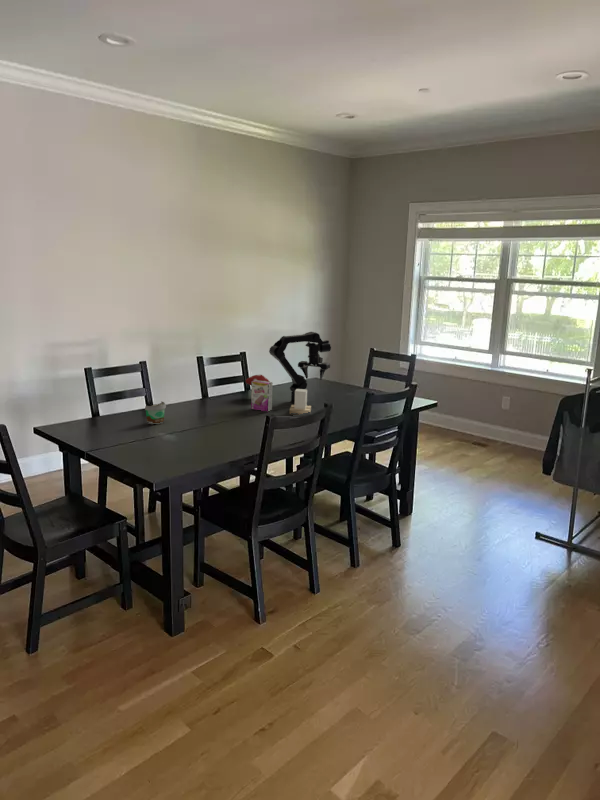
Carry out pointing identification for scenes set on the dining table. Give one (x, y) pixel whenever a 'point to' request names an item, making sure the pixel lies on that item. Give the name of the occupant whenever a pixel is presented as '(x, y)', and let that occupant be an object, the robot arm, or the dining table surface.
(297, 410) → the oak block
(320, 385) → the dining table surface
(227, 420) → the dining table surface
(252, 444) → the dining table surface
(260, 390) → the candy bar box
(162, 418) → the food container
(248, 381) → the decorative mushroom
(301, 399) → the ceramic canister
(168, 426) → the dining table surface
